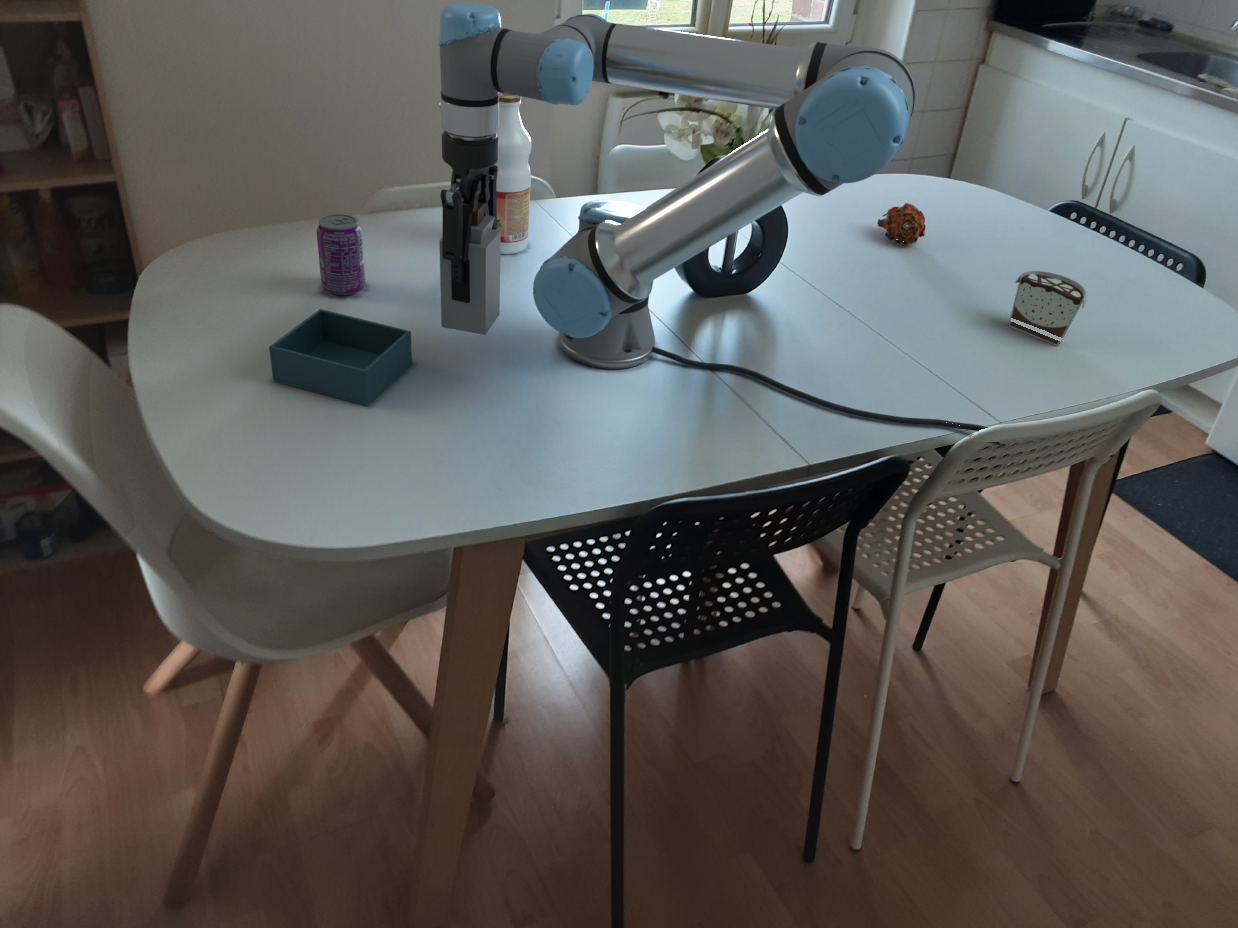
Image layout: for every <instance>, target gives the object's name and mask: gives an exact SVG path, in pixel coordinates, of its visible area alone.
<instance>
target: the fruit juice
mask: <svg viewBox="0 0 1238 928" xmlns="http://www.w3.org/2000/svg"><path fill="white" fill-rule="evenodd" d="M521 103H522V97H521V96H516V95H511V94H506V93H501V92H499V131H498V132H497V133H496V134H497V136H498V138H499V139H498V161H497V163H496V164H495V165H496V166H498V174H497V182H496V189H497V230H500V231H501V243H500V255H513V254H517V253H521V252H523V251H525V249H527V247H528V244H529V232H530V231H529V230H530V210H531V209H530V205H531V185H532V175H531V172H532V171H531V167H530V164H529V159H530V155H531V153H532V138H531V136H530V134H529V132H528V131H527V129H525V127H524V125H523V122H522V118H521V114H520V105H521Z"/></svg>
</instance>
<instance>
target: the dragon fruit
mask: <svg viewBox="0 0 1238 928" xmlns="http://www.w3.org/2000/svg"><path fill="white" fill-rule="evenodd" d="M882 217H884V218H882V219H881V218H878V219H877V227H879V228H883V229H884V230H886V232H885V233H884V236H885V238H887V240H889V241H895V243H896V244H899V245H901V246H907V245H908V244H909V245H910V244H911V245H913V244H915V243H917V242H918V240H919V238H922V237H925V236H926V224H925V222H926V218H925V215H924V213H923V211H922V210H919V208H918V207H916V206H915V205H914V204H911V203H909V202H905V203H904V204H903V206H893V207H890V208H889V209H888V210H887V212H885V213H883V215H882ZM896 239H898V240H896ZM903 241H904V242H903Z"/></svg>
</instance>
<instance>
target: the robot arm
mask: <svg viewBox="0 0 1238 928" xmlns="http://www.w3.org/2000/svg"><path fill="white" fill-rule="evenodd" d="M439 15H440V16H439V38H438V39H439V40H438V43H437V44H438V46H439V62H440V63H439V65H440V101H439V103H438V107H439V109H440V110H441V112H440V113H441V115H440V116H441V129H442V130H443V132H442V133H441V158H442V161H443V162H444V163H445V164H446V165H449V167H450V168H451V177H450V188H448V189H441V191H440V200H441V207H442V229H441V230H442V231H441V232H442V237H441V238H442V257H443V259H445V260H450V261H451V292H452V300H456V301H461V302H465V303H470V260H467V259H468V251H469V242H470V234H471V225H472V217H473V213H474V212H476V210H477V203H478V202H484V203H485V211H484V216H486V215H488V216H495V218H494V222H493V226H492V229H494V230H497V189H496V182H497V174H498V166H496V165H495V164H496V163H497V161H498V139H499V138H498V136H497V134H496V133H497V132H498V131H499V92H501V93H506V94H511V95H516V96H521V98H526V99H532V100H538V101H542V102H546V103H549V104H551V105H568V106H577V105H578V106H579V104H582V103H583V102H584V101H585V100H586V98H587V94H588V93H589V92H590V89H591V86H592V84H593V83H592V82H597V83H604V84H609V85H619V86H625V87H630V88H637V89H645V90H650V91H656V92H663V93H668V94H676V95H682V96H688V97H695V98H702V99H708V100H714V101H721V102H725V103H726V102H727V103H731V104H732V103H733V104H739V105H746V106H751V107H757V108H758V107H759V108H765V109H770V110H773V111H772V114H771V118H770V122H769V127H768V128H767V129H766V130H765V131H763V132H761V133H759V135H757V136H756V137H754V138H752V139H751V140H749V141H748V142H746V143H744V144H743V145H741V146H740V147H738V148H736V149H735V150H733V151H732V152H731V153H729V154H727V155H725V156H724V157H723V158H721V159H719V160H718V161H716V162H715V163H713V164H712V165H710V166H709V167H707V168H706V169H704V170H702V171H701V172H699V173H698V174H696V175H695V176H693V177H691V178H690V179H688V180H687V181H685V182H683V183H682V184H681V185H679V186H677V187H676V188H675V189H673V190H671V191H670V192H668V193H667V194H665V195H664V196H662V197H661V198H659V199H657V200H656V201H654V202H652V203H651V204H650V205H648V206H646V207H644V206H641V205H638V204H634V203H630V202H625V201H620V200H609V199H608V200H607V199H601V200H600V199H597V200H591V201H588V202H586V203H584V204H582V206H581V207H580V211H579V215H578V217H577V219H578V230H577V233H575V234H574V235H573V236H572V237H571V238H569V240H567V242H565V243H564V244H563V245H562V246H561V247H560V248H559V249H558V250H557V251H556V252H555V253H553V255H552V256H550V257H549V258H547V259H546V260H544V262H543V263H542V265H540V267H539V269H538V271H537V272H536V274H535V276H534V279H533V284H532V285H533V287H532V296H533V302H534V305H535V306H536V309H537V311H538V313H539V314H540V316H541V317H542V319H543V320H544V321H545V322H546V323H547V324H548V325H549V326H550V327H551V328H552V329H554V330H555V331H557V332H558V333H559V338H558V339H559V340H558V345H559V347H560V349H561V350H562V352H563V353H564V355H566V356H567V357H569V358H571V359H572V360H574V361H576V362H578V363H580V364H583V365H586V366H589V367H593V368H598V369H607V370H609V369H610V370H618V369H620V370H621V369H628V368H633V367H636V366H637V367H638V366H640V365H642V364H644V363H646V362H648V361H649V360H650V359H651V358H652V356H653V355H654V354H656V355H659V356H663V357H664V358H668V359H671V360H673V361H675V362H678V363H681V364H683V365H686V366H691V367H693V368H694V367H695V368H701V369H708V370H710V369H711V370H720V371H721V370H722V371H729V372H734V373H735V372H736V373H739V374H743V375H746V376H748V377H751V378H755V379H756V380H759V381H761V382H763V383H765V384H767V385H769V386H772V387H774V388H776V389H778V390H780V391H782V392H784V393H787V394H790V395H792V396H795V397H797V398H800V399H802V400H805V401H807V402H810V403H812V404H815V405H818V406H821V407H824V408H827V409H829V410H833V411H836V412H841V413H843V414H844V413H845V414H849V415H851V416H857V417H861V418H866V419H869V420H870V419H871V420H877V421H883V422H884V421H885V422H890V423H897V424H904V425H919V426H920V425H922V426H924V425H925V426H937V427H944V428H951V429H958V430H966V431H973V432H974V431H975V432H979V430H981V429H985V428H989V427H987V426H984V425H981V424H975V423H965V422H957V421H953V420H947V419H939V418H937V419H936V418H924V417H923V418H922V417H906V416H897V415H891V414H885V413H884V414H883V413H878V412H872V411H867V410H862V409H857V408H853V407H849V406H845V405H841V404H838V403H835V402H832V401H828V400H825V399H822V398H819V397H816V396H814V395H811V394H809V393H806V392H804V391H801V390H798V389H796V388H793V387H791V386H788V385H786V384H784V383H781V382H780V381H777V380H775V379H773V378H771V377H769V376H767V375H764V374H762V373H760V372H758V371H756V370H753V369H750V368H746V367H743V366H739V365H734V364H729V363H720V362H719V363H718V362H706V361H700V360H694V359H691V358H687V357H683V356H681V355H679V354H676V353H674V352H670V351H668V350H665V349H663V348H659V347H656V345H655V344H656V336H655V330H654V327H653V323H652V322H653V321H652V318H651V317H652V316H651V313H650V308H649V299H650V295H651V293H652V290H653V285H654V280H657V279H658V278H659V277H661V276H663V275H664V274H666V273H668V272H670V271H672V270H673V269H675V268H677V267H678V266H680V265H682V264H684V263H685V262H687V261H688V260H690V259H692V258H694V257H696V256H697V255H699V254H701V253H702V252H704V251H706V250H708V249H709V248H711V247H712V246H714V245H715V244H718V243H720V242H721V241H722V240H725V239H726V238H727V237H729V236H731V235H733V234H734V233H736V232H738V231H740V230H741V229H743V228H745V227H746V226H748V225H750V224H752V223H754V222H755V221H757V220H759V219H760V218H762V217H764V216H765V215H767V214H768V213H771V212H772V211H774V210H776V209H778V208H779V207H780V206H782V205H784V204H786V203H787V202H790V201H791V200H792V199H794V198H796V197H798V196H800V195H801V194H803V193H804V194H809V195H811V196H815V197H822V196H825V195H827V194H828V193H830V192H831V191H833V190H835V189H837V188H838V187H840V186H841V185H844V184H853V183H858V182H862V181H864V180H867V179H869V178H871V177H873V176H875V175H876V174H878V173H879V172H880V171H882V170H883V169H884V168H885V167H887V165H888V164H890V163H891V162H892V161H893V160H894V158H895V157H896V155H897V154H898V152H899V151H900V149H901V148H902V146H903V144H904V142H905V139H906V136H907V133H908V130H909V123H910V120H911V118H912V115H913V112H914V108H915V105H916V95H917V94H916V87H915V86H916V85H915V82H914V78H913V76H912V73H911V71H910V70H909V68H908V67H907V66H906V64H905V62H903V60H902V59H901V58H899V57H898V56H896V55H894V54H893V53H891V52H889V51H887V50H885V49H881V48H878V47H872V46H860V45H850V44H838V43H837V44H835V43H828V42H820V41H814V42H812V43H811V44H810V45H809V46H807V47H806V48H798V47H791V46H783V45H777V44H769V43H762V42H755V41H748V40H741V39H735V38H734V39H732V38H725V37H718V36H711V35H703V34H696V33H689V32H683V31H682V32H681V31H674V30H668V29H661V28H652V27H648V26H647V27H646V26H639V25H632V24H631V25H630V24H624V23H616V22H615V23H614V22H610V21H607V20H606V19H605V18H603V17H602V16H600V15H599V14H595V13H584V14H583V13H582V14H576V15H574V16H571V17H569V18H567V19H566V20H565V21H563V22H561V23H560V24H557V25H555V26H553V27H551V28H548V29H547V30H544V31H542V32H540V33H532V32H525V31H520V30H513V29H509V28H507V27H502V21H501V15H500V12H499V10H498V8H495V7H494V6H491V5H488V4H484V3H479V2H478V3H477V2H455V3H450V4H447V5H446V6H444V7H443V8H442V10H441V12H440V14H439ZM462 203H466V204H470V206H469V205H464V204H462ZM946 422H947V423H946ZM952 423H953V424H952ZM959 425H960V426H959Z"/></svg>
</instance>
